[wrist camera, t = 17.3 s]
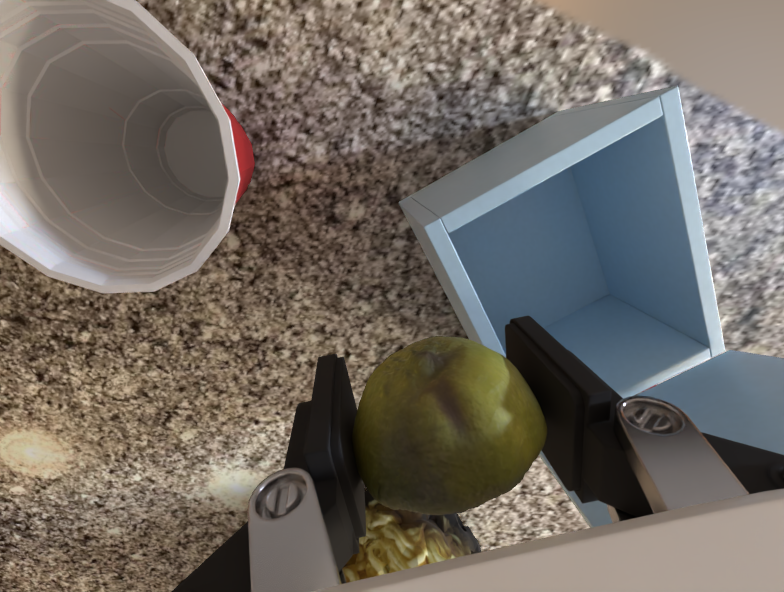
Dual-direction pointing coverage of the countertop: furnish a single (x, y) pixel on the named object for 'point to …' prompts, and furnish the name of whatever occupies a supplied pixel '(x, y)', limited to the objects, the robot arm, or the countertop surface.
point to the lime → (445, 427)
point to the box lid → (718, 408)
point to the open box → (582, 240)
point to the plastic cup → (111, 147)
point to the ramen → (406, 541)
